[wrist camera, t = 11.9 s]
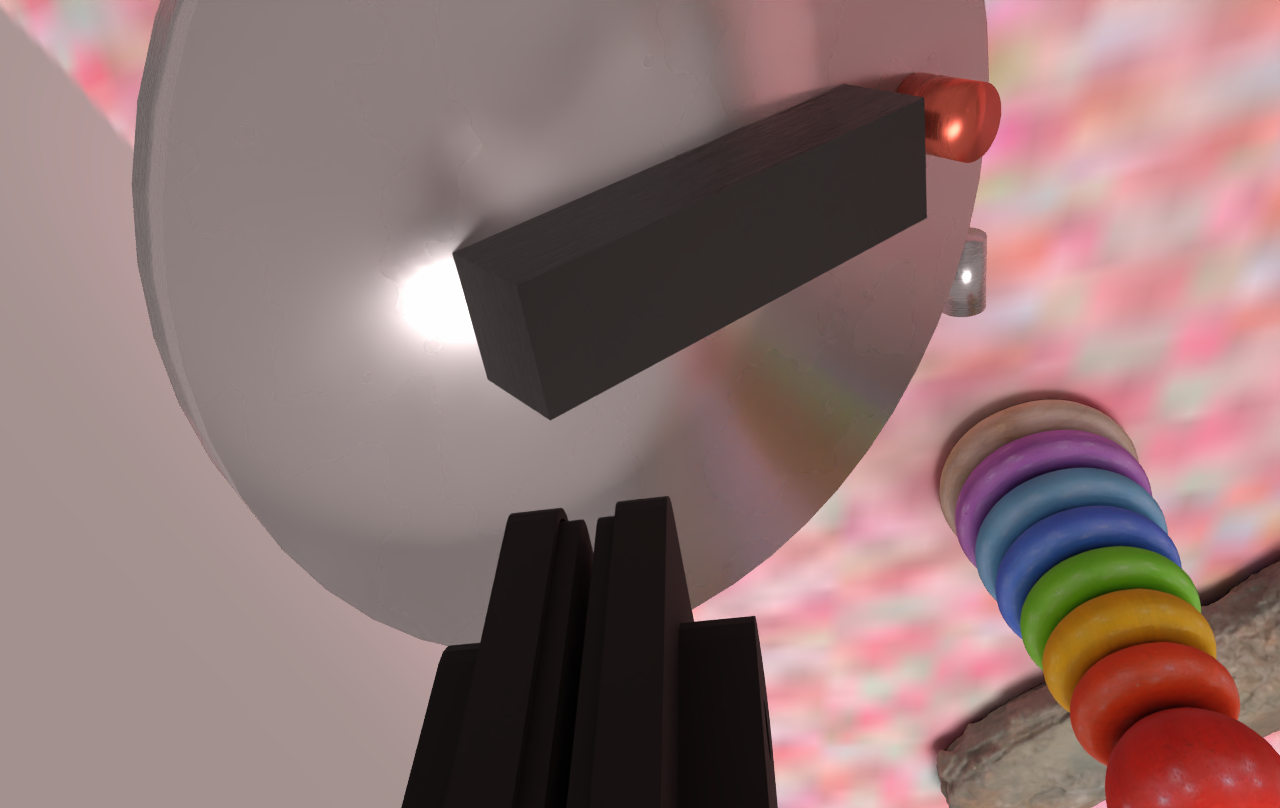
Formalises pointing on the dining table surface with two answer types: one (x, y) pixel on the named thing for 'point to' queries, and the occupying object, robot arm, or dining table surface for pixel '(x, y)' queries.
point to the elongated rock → (1044, 738)
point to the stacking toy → (1104, 605)
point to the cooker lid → (547, 264)
